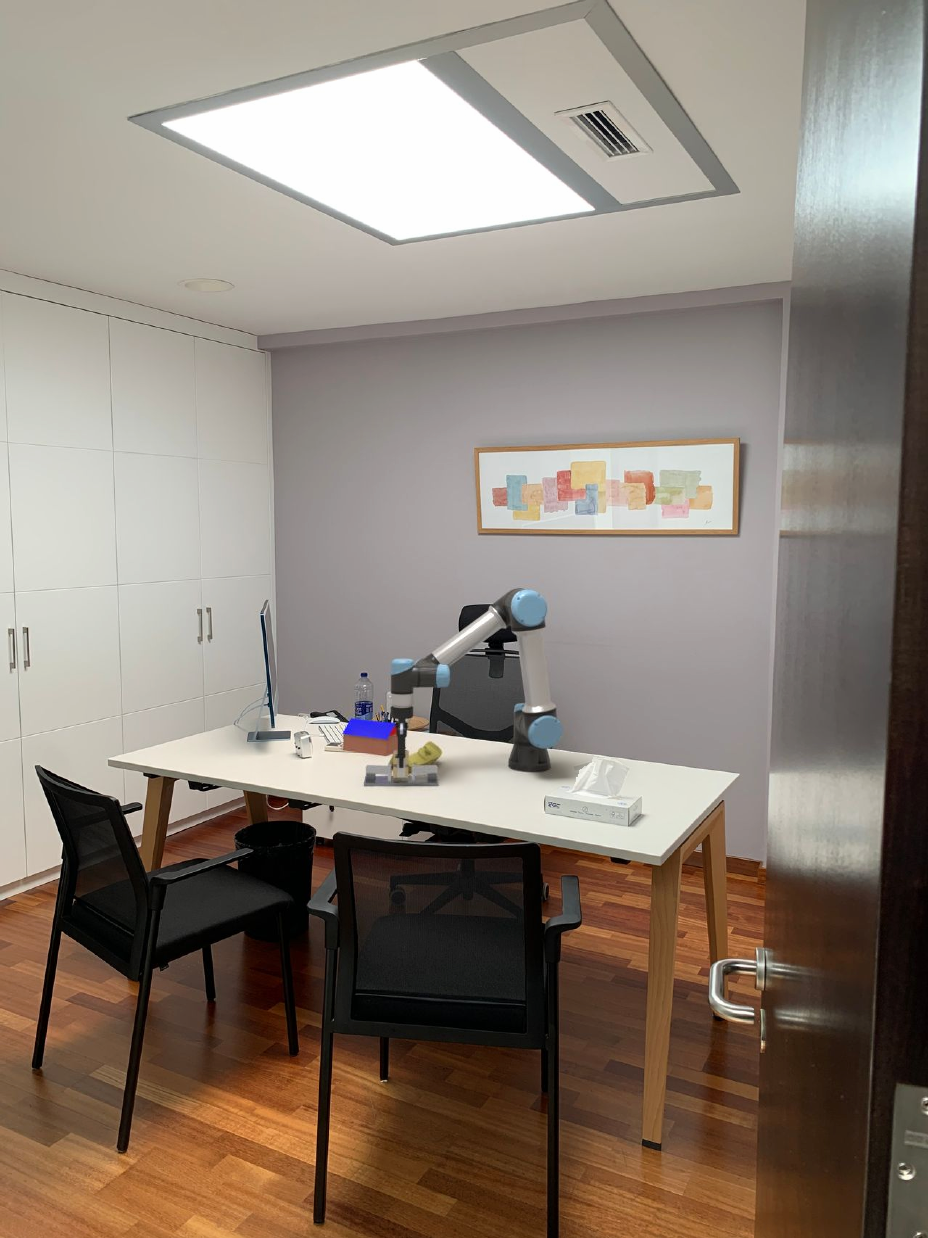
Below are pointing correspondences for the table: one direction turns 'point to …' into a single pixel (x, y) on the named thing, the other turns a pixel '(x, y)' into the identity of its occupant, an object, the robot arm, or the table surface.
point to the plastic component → (423, 756)
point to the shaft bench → (410, 781)
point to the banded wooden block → (396, 764)
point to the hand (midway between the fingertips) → (401, 774)
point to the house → (370, 737)
